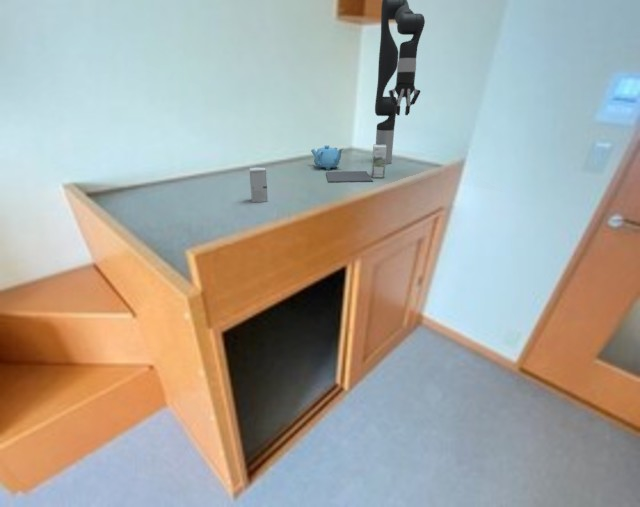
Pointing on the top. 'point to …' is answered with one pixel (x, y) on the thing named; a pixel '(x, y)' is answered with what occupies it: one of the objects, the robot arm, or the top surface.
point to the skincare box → (258, 184)
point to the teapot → (327, 157)
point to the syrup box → (378, 161)
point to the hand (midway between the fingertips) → (402, 115)
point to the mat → (348, 176)
